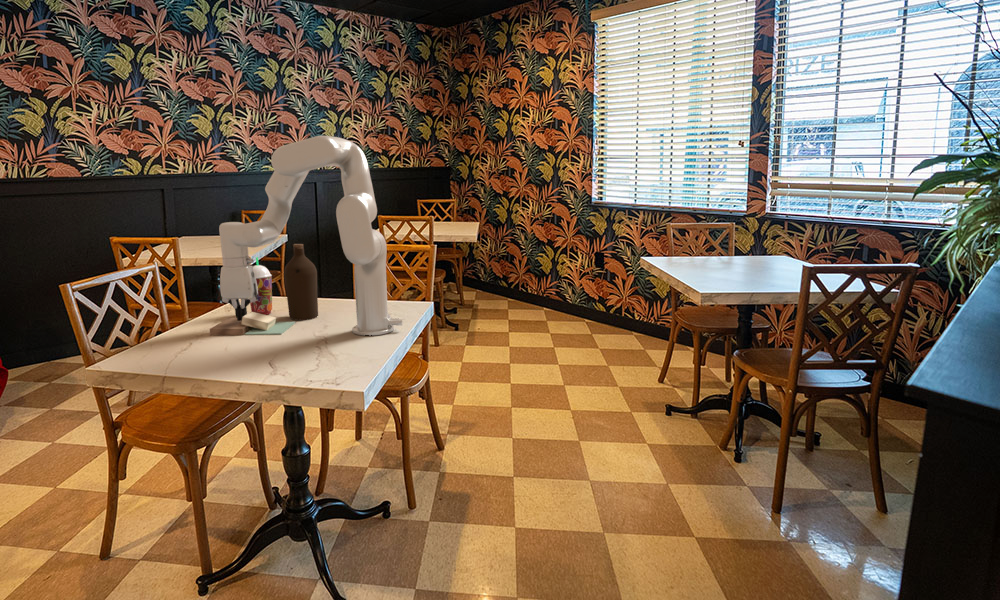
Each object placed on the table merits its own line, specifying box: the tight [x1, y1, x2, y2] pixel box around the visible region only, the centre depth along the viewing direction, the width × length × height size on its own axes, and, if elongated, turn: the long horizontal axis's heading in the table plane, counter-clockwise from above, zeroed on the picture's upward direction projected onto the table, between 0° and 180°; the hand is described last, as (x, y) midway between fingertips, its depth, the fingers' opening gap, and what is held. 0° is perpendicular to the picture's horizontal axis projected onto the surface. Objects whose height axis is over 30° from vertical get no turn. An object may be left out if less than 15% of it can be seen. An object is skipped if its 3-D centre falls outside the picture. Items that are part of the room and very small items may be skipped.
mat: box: [244, 321, 296, 336], centre depth 189 cm, size 11×14×1 cm
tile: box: [241, 311, 277, 330], centre depth 188 cm, size 8×7×2 cm
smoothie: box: [250, 256, 273, 316], centre depth 206 cm, size 8×8×20 cm
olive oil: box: [283, 243, 319, 321], centre depth 201 cm, size 11×11×25 cm
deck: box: [209, 317, 254, 336], centre depth 189 cm, size 10×14×2 cm
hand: (241, 319), depth 188 cm, fingers closed
